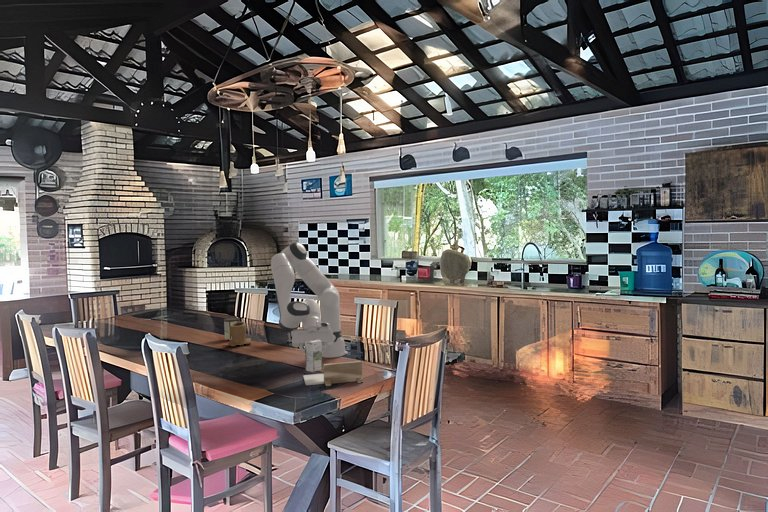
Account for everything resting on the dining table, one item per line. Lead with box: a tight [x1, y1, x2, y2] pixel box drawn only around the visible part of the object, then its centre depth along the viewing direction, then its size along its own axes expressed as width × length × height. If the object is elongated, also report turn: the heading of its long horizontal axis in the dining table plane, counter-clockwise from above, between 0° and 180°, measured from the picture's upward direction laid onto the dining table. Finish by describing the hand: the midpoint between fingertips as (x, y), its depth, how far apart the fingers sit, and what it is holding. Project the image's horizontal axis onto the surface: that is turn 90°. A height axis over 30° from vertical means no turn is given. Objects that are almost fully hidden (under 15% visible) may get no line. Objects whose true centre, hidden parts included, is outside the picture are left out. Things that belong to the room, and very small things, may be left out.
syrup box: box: [304, 339, 323, 373], centre depth 249 cm, size 6×6×14 cm
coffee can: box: [223, 317, 241, 340], centre depth 351 cm, size 10×10×14 cm
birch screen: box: [322, 360, 364, 387], centre depth 244 cm, size 5×18×9 cm, turn 103°
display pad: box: [302, 373, 325, 386], centre depth 250 cm, size 14×10×1 cm
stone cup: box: [227, 321, 252, 347], centre depth 332 cm, size 15×12×15 cm
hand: (313, 352), depth 248 cm, fingers closed on syrup box, 8 cm apart
